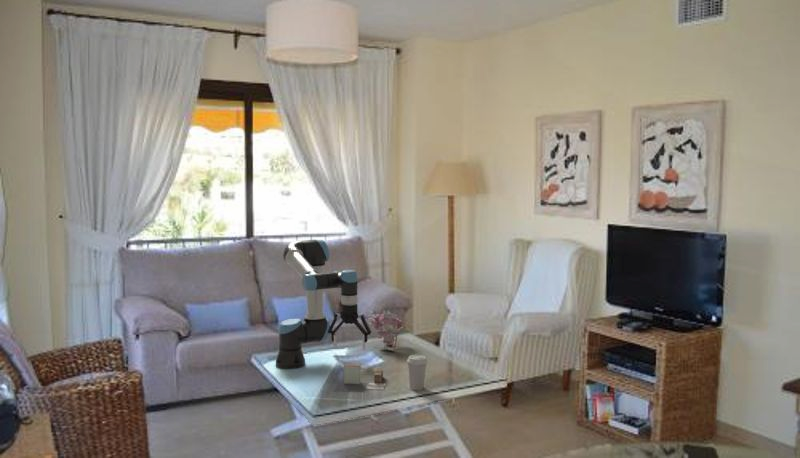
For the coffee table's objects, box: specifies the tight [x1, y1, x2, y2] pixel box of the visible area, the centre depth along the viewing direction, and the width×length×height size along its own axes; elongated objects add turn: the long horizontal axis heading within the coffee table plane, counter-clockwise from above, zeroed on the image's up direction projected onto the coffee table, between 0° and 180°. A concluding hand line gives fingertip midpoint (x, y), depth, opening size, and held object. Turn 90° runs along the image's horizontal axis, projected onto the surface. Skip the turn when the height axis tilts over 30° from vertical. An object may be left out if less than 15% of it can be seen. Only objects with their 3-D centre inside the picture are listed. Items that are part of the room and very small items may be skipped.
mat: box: [333, 381, 368, 393], centre depth 315 cm, size 13×14×1 cm
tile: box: [343, 363, 362, 384], centre depth 319 cm, size 2×8×9 cm, turn 85°
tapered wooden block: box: [366, 367, 387, 391], centre depth 320 cm, size 18×8×5 cm, turn 175°
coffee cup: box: [406, 354, 428, 391], centre depth 315 cm, size 10×10×15 cm
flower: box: [367, 309, 409, 353], centre depth 380 cm, size 20×22×25 cm
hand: (349, 348), depth 312 cm, fingers open, 13 cm apart
